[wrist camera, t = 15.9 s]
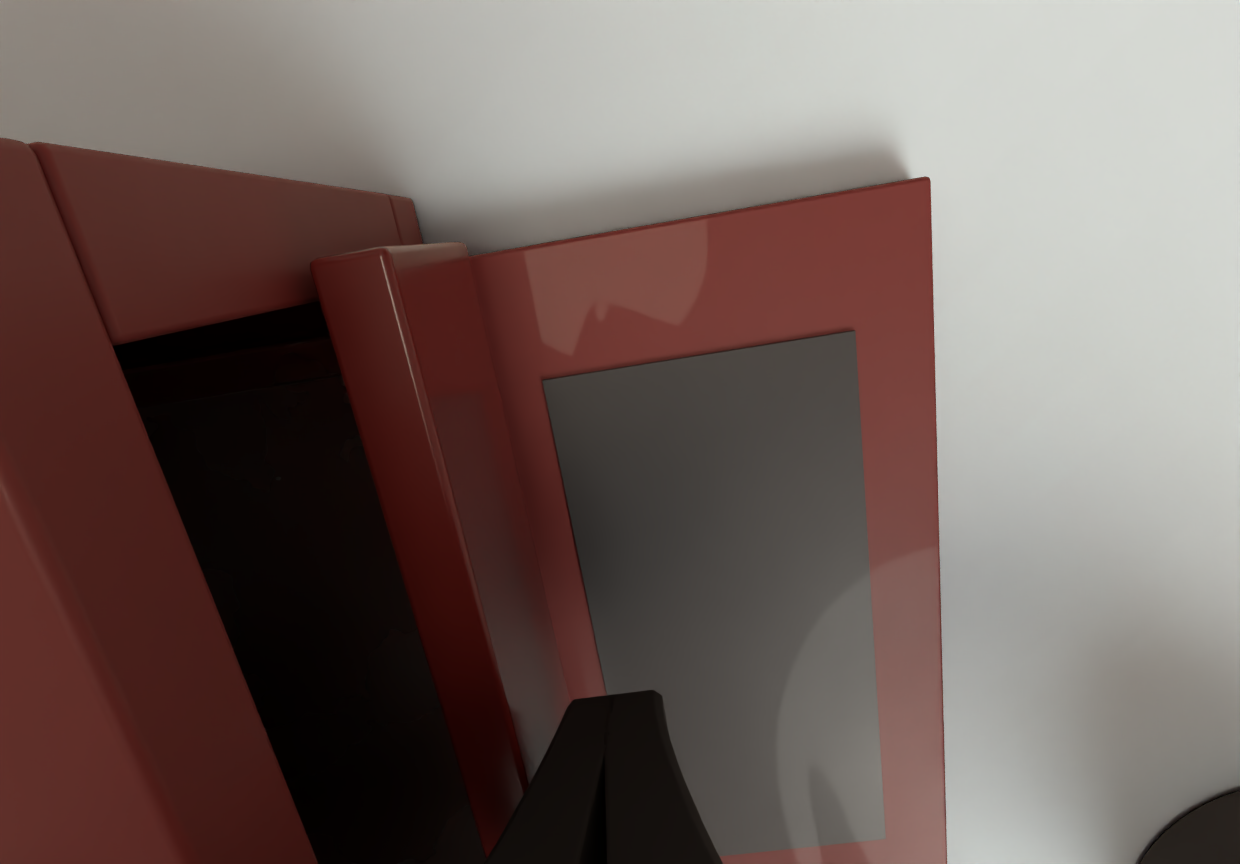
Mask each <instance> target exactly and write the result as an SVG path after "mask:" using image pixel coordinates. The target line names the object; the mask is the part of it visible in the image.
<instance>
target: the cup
mask: <svg viewBox="0 0 1240 864" xmlns="http://www.w3.org/2000/svg"><path fill="white" fill-rule="evenodd" d="M1140 864H1240V791H1237V792H1234V793H1231V794H1228V795H1225V796H1222V797H1220V798H1218V799H1216V800H1213V801H1211V802H1209V803H1207V804H1205V805H1203V806H1201V807H1199V808H1198V809H1196V810H1194V811H1192V812H1190V813H1189V814H1187V815H1186V816H1185V817H1183V818H1182V819H1180V820H1179V821H1177V822H1176V823H1175V824H1174V825H1172V826H1171V827H1170V828H1169V829H1168V830H1167V831H1165V832H1164V833H1163V834H1162V835H1161V836H1160V837H1159V839H1158V840H1157V841H1156V842H1155V843H1154V844H1153V845H1152V846H1151V848H1150V849H1149V851H1148V852H1147V853H1146V855H1145V856H1144V858H1143V860H1142V861H1141V863H1140Z"/></svg>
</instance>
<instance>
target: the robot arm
mask: <svg viewBox="0 0 1240 864" xmlns="http://www.w3.org/2000/svg"><path fill="white" fill-rule="evenodd" d="M484 864H723V862H722V860H721V858H720V856H719V855H718V853H717V851H716V849H715V847H714V845H713V843H712V840H711V838H710V836H709V834H708V832H707V830H706V828H705V826H704V824H703V821H702V819H701V817H700V815H699V812H698V810H697V808H696V805H695V803H694V801H693V798H692V796H691V794H690V791H689V789H688V787H687V784H686V782H685V780H684V777H683V774H682V772H681V769H680V767H679V764H678V761H677V758H676V755H675V752H674V749H673V746H672V743H671V740H670V737H669V732H668V726H667V720H666V714H665V709H664V703H663V697H662V695H660V694H659V693H657V692H656V691H655V690H646V691H638V692H630V693H622V694H613V695H605V696H597V697H589V698H580V699H574V700H573V701H572V702H571V703H570V704H569V706H568V707H567V709H566V711H565V713H564V716H563V718H562V720H561V722H560V724H559V726H558V729H557V731H556V733H555V735H554V737H553V739H552V741H551V743H550V745H549V747H548V749H547V751H546V753H545V755H544V757H543V759H542V761H541V763H540V765H539V767H538V769H537V771H536V773H535V775H534V777H533V779H532V781H531V782H530V784H529V786H528V788H527V790H526V791H525V793H524V795H523V797H522V799H521V800H520V802H519V804H518V806H517V808H516V809H515V811H514V813H513V815H512V817H511V818H510V820H509V822H508V824H507V826H506V827H505V829H504V831H503V833H502V834H501V836H500V838H499V840H498V841H497V843H496V845H495V846H494V848H493V849H492V851H491V853H490V854H489V856H488V857H487V859H486V861H485V862H484Z"/></svg>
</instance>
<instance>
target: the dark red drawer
mask: <svg viewBox="0 0 1240 864" xmlns="http://www.w3.org/2000/svg"><path fill="white" fill-rule="evenodd" d="M310 271H311V274H312V277H313V281H314V284H315V287H316V291H317V294H318V297H319V301H320V304H321V307H322V311H323V314H324V318H325V321H326V324H327V326H322V327H316V328H310V329H304V330H299V331H293V332H287V333H281V334H275V335H269V336H263V337H257V338H251V339H245V340H240V341H234V342H228V343H222V344H216V345H210V346H204V347H198V348H192V349H186V350H181V351H175V352H169V353H163V354H157V355H151V356H145V357H139V358H133V359H127V360H121V361H119V364H120V366H121V369H122V371H123V374H124V376H125V379H126V381H127V384H128V386H129V389H130V391H131V394H132V397H133V399H134V402H135V404H136V407H137V409H138V412H139V414H140V417H141V419H142V422H143V424H144V427H145V429H146V432H147V434H148V437H149V439H150V442H151V444H152V447H153V449H154V452H155V454H156V457H157V459H158V462H159V464H160V467H161V469H162V472H163V474H164V477H165V479H166V482H167V484H168V487H169V489H170V492H171V495H172V497H173V500H174V502H175V505H176V507H177V510H178V512H179V515H180V517H181V520H182V522H183V525H184V527H185V530H186V532H187V535H188V537H189V540H190V542H191V545H192V547H193V550H194V552H195V555H196V557H197V560H198V562H199V565H200V567H201V570H202V572H203V575H204V577H205V580H206V582H207V585H208V588H209V590H210V593H211V595H212V598H213V600H214V603H215V605H216V608H217V610H218V613H219V615H220V618H221V620H222V623H223V625H224V628H225V630H226V633H227V635H228V638H229V640H230V643H231V645H232V648H233V650H234V653H235V655H236V658H237V660H238V663H239V665H240V668H241V670H242V673H243V675H244V678H245V680H246V683H247V686H248V688H249V691H250V693H251V696H252V698H253V701H254V703H255V706H256V708H257V711H258V713H259V716H260V718H261V721H262V723H263V726H264V728H265V731H266V733H267V736H268V738H269V741H270V743H271V746H272V748H273V751H274V753H275V756H276V758H277V761H278V763H279V766H280V768H281V771H282V773H283V776H284V778H285V781H286V784H287V786H288V789H289V791H290V794H291V796H292V799H293V801H294V804H295V806H296V809H297V811H298V814H299V816H300V819H301V821H302V824H303V826H304V829H305V831H306V834H307V836H308V839H309V841H310V844H311V846H312V849H313V851H314V854H315V856H316V859H317V861H318V864H484V862H485V861H486V859H487V857H488V856H489V854H490V853H491V851H492V849H493V848H494V846H495V845H496V843H497V841H498V840H499V838H500V836H501V834H502V833H503V831H504V829H505V827H506V826H507V824H508V822H509V820H510V818H511V817H512V815H513V813H514V811H515V809H516V808H517V806H518V804H519V802H520V800H521V799H522V797H523V795H524V793H525V791H526V790H527V788H528V786H529V784H530V782H531V781H532V779H533V777H534V775H535V773H536V771H537V769H538V767H539V765H540V763H541V761H542V759H543V757H544V755H545V753H546V751H547V749H548V747H549V745H550V743H551V741H552V739H553V737H554V735H555V733H556V731H557V729H558V726H559V724H560V722H561V720H562V718H563V716H564V713H565V711H566V709H567V707H568V706H569V704H570V700H569V695H568V691H567V687H566V682H565V678H564V673H563V669H562V665H561V660H560V656H559V651H558V647H557V642H556V638H555V634H554V629H553V625H552V620H551V616H550V612H549V607H548V603H547V598H546V594H545V590H544V585H543V581H542V576H541V572H540V567H539V563H538V559H537V554H536V550H535V545H534V541H533V537H532V532H531V528H530V523H529V519H528V515H527V510H526V506H525V501H524V497H523V492H522V488H521V484H520V479H519V475H518V470H517V466H516V462H515V457H514V453H513V448H512V444H511V440H510V435H509V431H508V426H507V422H506V417H505V413H504V409H503V404H502V400H501V395H500V391H499V387H498V382H497V378H496V373H495V369H494V364H493V360H492V356H491V351H490V347H489V342H488V338H487V334H486V329H485V325H484V320H483V316H482V312H481V307H480V303H479V298H478V294H477V289H476V285H475V281H474V276H473V272H472V267H471V263H470V259H469V254H468V250H467V247H466V245H465V244H464V243H462V242H448V243H430V244H413V245H396V246H380V247H374V248H368V249H363V250H357V251H351V252H346V253H340V254H335V255H329V256H323V257H318V258H316V259H314V260H313V261H311V262H310Z"/></svg>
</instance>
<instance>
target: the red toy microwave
mask: <svg viewBox="0 0 1240 864" xmlns="http://www.w3.org/2000/svg"><path fill="white" fill-rule="evenodd" d="M413 244H423V242H422V238H421V234H420V230H419V226H418V221H417V217H416V213H415V209H414V205H413V202H412V200H411V199H410V198H406V197H400V196H393V195H387V194H382V193H376V192H369V191H362V190H356V189H349V188H343V187H336V186H329V185H323V184H316V183H309V182H303V181H296V180H289V179H283V178H276V177H269V176H263V175H256V174H249V173H243V172H236V171H229V170H223V169H216V168H209V167H203V166H196V165H189V164H183V163H176V162H170V161H163V160H156V159H150V158H143V157H136V156H130V155H123V154H116V153H110V152H103V151H96V150H90V149H83V148H76V147H70V146H63V145H56V144H50V143H43V142H33V143H28V144H25V143H23V142H20V141H16V140H12V139H7V138H0V864H318V861H317V859H316V856H315V854H314V851H313V849H312V846H311V844H310V841H309V839H308V836H307V834H306V831H305V829H304V826H303V824H302V821H301V819H300V816H299V814H298V811H297V809H296V806H295V804H294V801H293V799H292V796H291V794H290V791H289V789H288V786H287V784H286V781H285V778H284V776H283V773H282V771H281V768H280V766H279V763H278V761H277V758H276V756H275V753H274V751H273V748H272V746H271V743H270V741H269V738H268V736H267V733H266V731H265V728H264V726H263V723H262V721H261V718H260V716H259V713H258V711H257V708H256V706H255V703H254V701H253V698H252V696H251V693H250V691H249V688H248V686H247V683H246V680H245V678H244V675H243V673H242V670H241V668H240V665H239V663H238V660H237V658H236V655H235V653H234V650H233V648H232V645H231V643H230V640H229V638H228V635H227V633H226V630H225V628H224V625H223V623H222V620H221V618H220V615H219V613H218V610H217V608H216V605H215V603H214V600H213V598H212V595H211V593H210V590H209V588H208V585H207V582H206V580H205V577H204V575H203V572H202V570H201V567H200V565H199V562H198V560H197V557H196V555H195V552H194V550H193V547H192V545H191V542H190V540H189V537H188V535H187V532H186V530H185V527H184V525H183V522H182V520H181V517H180V515H179V512H178V510H177V507H176V505H175V502H174V500H173V497H172V495H171V492H170V489H169V487H168V484H167V482H166V479H165V477H164V474H163V472H162V469H161V467H160V464H159V462H158V459H157V457H156V454H155V452H154V449H153V447H152V444H151V442H150V439H149V437H148V434H147V432H146V429H145V427H144V424H143V422H142V419H141V417H140V414H139V412H138V409H137V407H136V404H135V402H134V399H133V397H132V394H131V391H130V389H129V386H128V384H127V381H126V379H125V376H124V374H123V371H122V369H121V366H120V364H119V361H121V360H127V359H133V358H139V357H145V356H151V355H157V354H163V353H169V352H175V351H181V350H186V349H192V348H198V347H204V346H210V345H216V344H222V343H228V342H234V341H240V340H245V339H251V338H257V337H263V336H269V335H275V334H281V333H287V332H293V331H299V330H304V329H310V328H316V327H322V326H327V324H326V321H325V318H324V314H323V311H322V307H321V304H320V301H319V297H318V294H317V291H316V287H315V284H314V281H313V277H312V274H311V271H310V262H311V261H313V260H314V259H316V258H318V257H323V256H329V255H335V254H340V253H346V252H351V251H357V250H363V249H368V248H374V247H380V246H396V245H413ZM469 259H470V263H471V267H472V272H473V276H474V281H475V285H476V289H477V294H478V298H479V303H480V307H481V312H482V316H483V320H484V325H485V329H486V334H487V338H488V342H489V347H490V351H491V356H492V360H493V364H494V369H495V373H496V378H497V382H498V387H499V391H500V395H501V400H502V404H503V409H504V413H505V417H506V422H507V426H508V431H509V435H510V440H511V444H512V448H513V453H514V457H515V462H516V466H517V470H518V475H519V479H520V484H521V488H522V492H523V497H524V501H525V506H526V510H527V515H528V519H529V523H530V528H531V532H532V537H533V541H534V545H535V550H536V554H537V559H538V563H539V567H540V572H541V576H542V581H543V585H544V590H545V594H546V598H547V603H548V607H549V612H550V616H551V620H552V625H553V629H554V634H555V638H556V642H557V647H558V651H559V656H560V660H561V665H562V669H563V673H564V678H565V682H566V687H567V691H568V695H569V700H570V703H571V702H572V701H573V700H574V699H580V698H589V697H597V696H605V695H613V694H622V693H630V692H638V691H646V690H655V691H656V692H657V693H659V694H660V695H662V697H663V703H664V709H665V714H666V720H667V726H668V732H669V737H670V740H671V743H672V746H673V749H674V752H675V755H676V758H677V761H678V764H679V767H680V769H681V772H682V774H683V777H684V780H685V782H686V784H687V787H688V789H689V791H690V794H691V796H692V798H693V801H694V803H695V805H696V808H697V810H698V812H699V815H700V817H701V819H702V821H703V824H704V826H705V828H706V830H707V832H708V834H709V836H710V838H711V840H712V843H713V845H714V847H715V849H716V851H717V853H718V855H719V856H720V858H721V860H722V862H723V864H947V844H946V803H945V762H944V721H943V680H942V639H941V598H940V557H939V516H938V475H937V434H936V393H935V352H934V311H933V270H932V229H931V188H930V178H929V177H920V178H914V179H909V180H903V181H897V182H891V183H886V184H880V185H874V186H869V187H863V188H857V189H851V190H846V191H840V192H834V193H828V194H823V195H817V196H811V197H806V198H800V199H794V200H788V201H783V202H777V203H771V204H765V205H760V206H754V207H748V208H743V209H737V210H731V211H725V212H720V213H714V214H708V215H702V216H697V217H691V218H685V219H679V220H674V221H668V222H662V223H657V224H651V225H645V226H639V227H634V228H628V229H622V230H616V231H611V232H605V233H599V234H594V235H588V236H582V237H576V238H571V239H565V240H559V241H553V242H548V243H542V244H536V245H531V246H525V247H519V248H513V249H508V250H502V251H496V252H490V253H485V254H479V255H473V256H469Z"/></svg>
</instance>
